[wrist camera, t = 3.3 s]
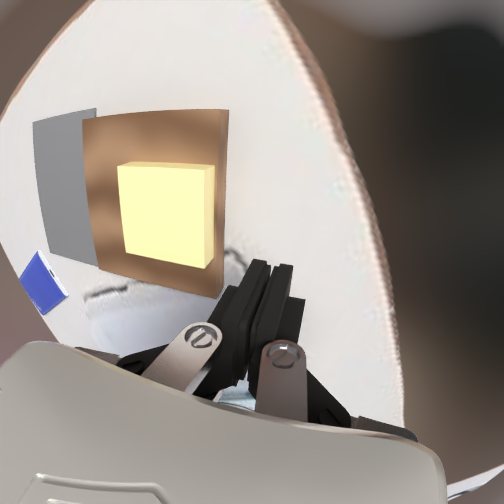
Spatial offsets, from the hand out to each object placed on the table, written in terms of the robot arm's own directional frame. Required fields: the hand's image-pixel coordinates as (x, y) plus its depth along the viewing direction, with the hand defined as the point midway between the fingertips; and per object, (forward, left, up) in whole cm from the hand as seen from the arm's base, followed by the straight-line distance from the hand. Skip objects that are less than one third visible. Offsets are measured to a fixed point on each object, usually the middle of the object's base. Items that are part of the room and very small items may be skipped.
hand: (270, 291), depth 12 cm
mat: (-1, +26, -12) cm, 29 cm away
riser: (-1, +13, -12) cm, 18 cm away
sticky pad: (-1, +10, -10) cm, 14 cm away
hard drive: (-17, +38, -13) cm, 43 cm away
